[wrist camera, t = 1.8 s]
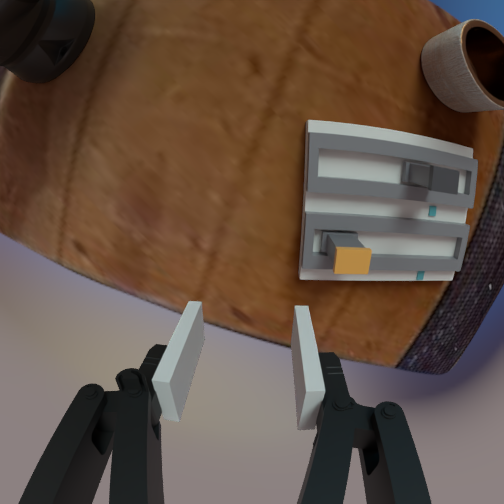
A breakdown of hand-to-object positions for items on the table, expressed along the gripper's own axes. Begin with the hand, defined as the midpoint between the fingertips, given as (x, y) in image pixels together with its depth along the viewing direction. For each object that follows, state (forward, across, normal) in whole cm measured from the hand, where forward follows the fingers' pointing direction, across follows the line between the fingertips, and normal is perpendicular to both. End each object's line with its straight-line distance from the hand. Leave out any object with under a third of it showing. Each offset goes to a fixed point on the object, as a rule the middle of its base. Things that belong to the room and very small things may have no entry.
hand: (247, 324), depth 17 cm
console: (+19, +16, +4) cm, 25 cm away
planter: (+19, +25, +23) cm, 39 cm away
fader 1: (+16, +9, 0) cm, 19 cm away
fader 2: (+16, +18, +9) cm, 26 cm away
